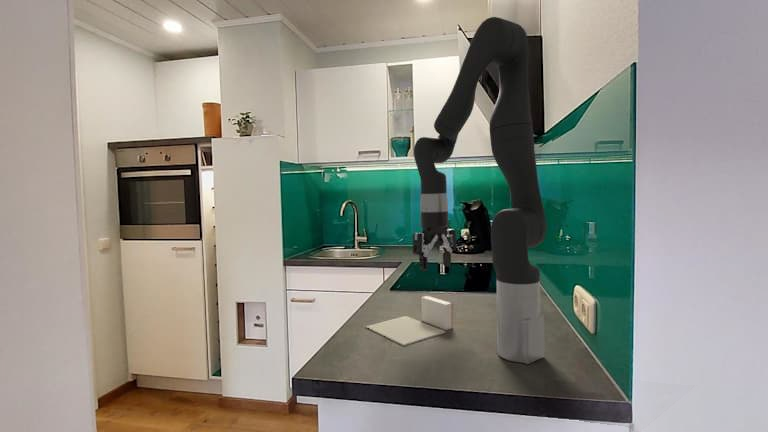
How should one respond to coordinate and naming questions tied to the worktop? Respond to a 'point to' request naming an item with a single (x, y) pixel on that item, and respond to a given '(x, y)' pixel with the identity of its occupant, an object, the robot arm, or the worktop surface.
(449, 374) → the worktop surface
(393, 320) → the mat
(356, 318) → the worktop surface
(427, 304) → the block
